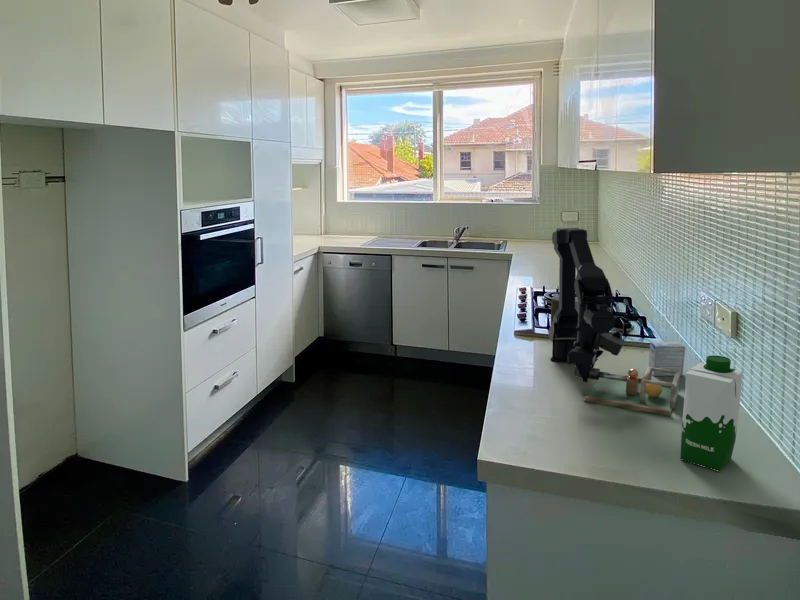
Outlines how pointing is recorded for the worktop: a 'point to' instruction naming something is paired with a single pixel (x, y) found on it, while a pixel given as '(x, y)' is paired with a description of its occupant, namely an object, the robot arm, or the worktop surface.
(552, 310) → the pillar candle
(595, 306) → the robot arm
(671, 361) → the medicine box
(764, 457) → the worktop surface
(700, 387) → the milk carton
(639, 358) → the worktop surface
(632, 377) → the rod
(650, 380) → the pitch
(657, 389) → the ball
